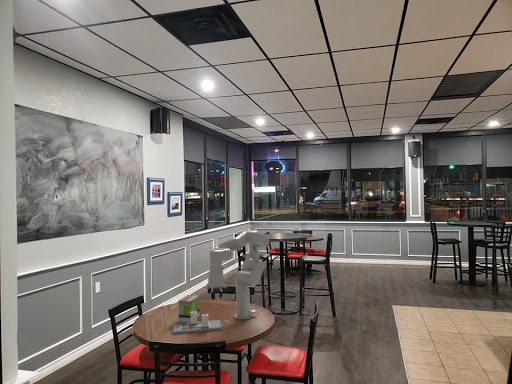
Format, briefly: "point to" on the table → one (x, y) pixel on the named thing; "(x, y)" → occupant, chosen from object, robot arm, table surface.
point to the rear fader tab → (194, 317)
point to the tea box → (188, 308)
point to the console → (196, 327)
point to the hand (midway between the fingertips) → (216, 297)
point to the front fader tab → (205, 320)
